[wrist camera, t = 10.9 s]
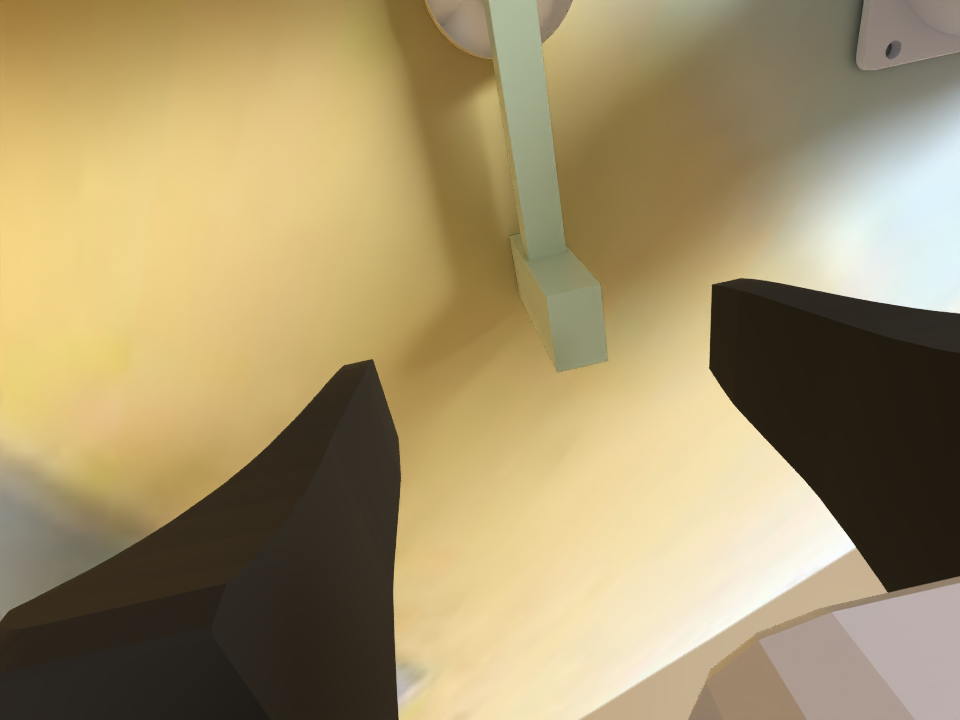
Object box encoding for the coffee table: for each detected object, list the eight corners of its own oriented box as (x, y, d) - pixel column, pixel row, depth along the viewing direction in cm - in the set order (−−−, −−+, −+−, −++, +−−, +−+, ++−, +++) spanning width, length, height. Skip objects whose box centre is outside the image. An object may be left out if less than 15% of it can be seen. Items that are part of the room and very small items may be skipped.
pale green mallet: (542, -178, 14) (620, -322, 9) (588, 279, 21) (650, 351, 15) (396, -146, 14) (389, -271, 9) (488, 303, 21) (515, 382, 15)
